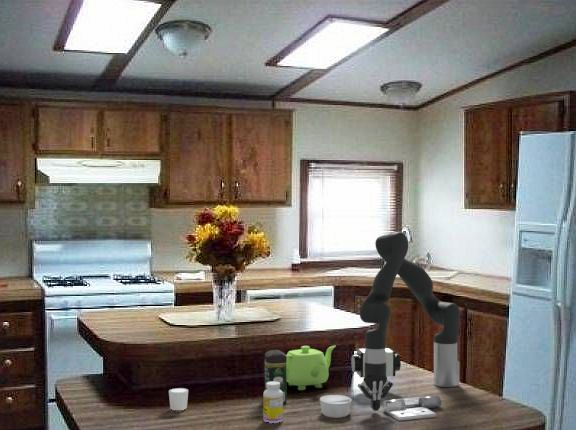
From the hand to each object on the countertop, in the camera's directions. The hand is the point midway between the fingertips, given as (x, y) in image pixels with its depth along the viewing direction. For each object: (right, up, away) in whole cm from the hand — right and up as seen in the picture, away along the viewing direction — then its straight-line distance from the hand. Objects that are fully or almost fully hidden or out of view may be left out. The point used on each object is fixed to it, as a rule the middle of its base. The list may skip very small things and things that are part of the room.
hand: (375, 410), depth 245 cm
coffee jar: (-35, -1, +16) cm, 38 cm away
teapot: (-21, -1, +36) cm, 42 cm away
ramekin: (-14, -2, 0) cm, 14 cm away
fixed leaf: (+16, -1, +9) cm, 18 cm away
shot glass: (-69, -1, +5) cm, 69 cm away
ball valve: (+4, -1, +30) cm, 30 cm away
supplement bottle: (-35, -2, -9) cm, 36 cm away
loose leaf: (+11, -1, -1) cm, 12 cm away
